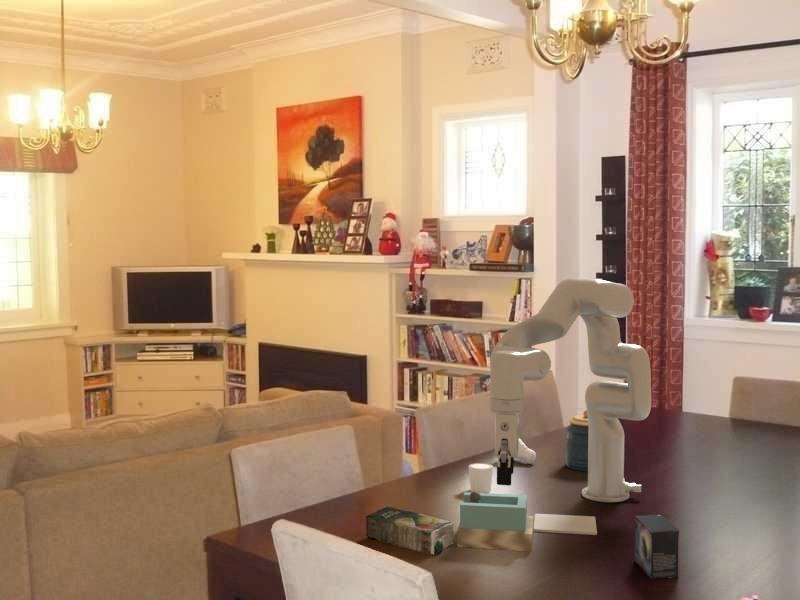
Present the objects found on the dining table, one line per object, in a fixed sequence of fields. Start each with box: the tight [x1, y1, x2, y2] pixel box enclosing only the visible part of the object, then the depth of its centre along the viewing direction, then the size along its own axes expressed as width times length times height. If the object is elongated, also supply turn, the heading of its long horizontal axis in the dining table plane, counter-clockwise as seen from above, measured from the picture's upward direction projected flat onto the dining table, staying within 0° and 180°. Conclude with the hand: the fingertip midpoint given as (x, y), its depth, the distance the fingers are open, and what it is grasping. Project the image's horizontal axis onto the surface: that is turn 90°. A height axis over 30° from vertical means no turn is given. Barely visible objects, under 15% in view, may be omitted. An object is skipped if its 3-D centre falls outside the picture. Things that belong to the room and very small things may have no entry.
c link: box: [459, 491, 528, 532], centre depth 214 cm, size 15×10×6 cm, turn 80°
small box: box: [634, 514, 680, 580], centre depth 195 cm, size 11×6×10 cm, turn 5°
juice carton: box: [365, 506, 455, 555], centre depth 213 cm, size 20×10×6 cm, turn 55°
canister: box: [565, 409, 589, 472], centre depth 277 cm, size 13×13×18 cm
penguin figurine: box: [513, 438, 537, 465], centre depth 283 cm, size 6×8×12 cm
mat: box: [533, 513, 598, 536], centre depth 224 cm, size 15×12×1 cm
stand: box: [456, 491, 535, 552], centre depth 214 cm, size 17×13×11 cm
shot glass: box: [468, 462, 494, 493], centre depth 253 cm, size 7×7×7 cm
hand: (505, 479), depth 208 cm, fingers open, 9 cm apart
